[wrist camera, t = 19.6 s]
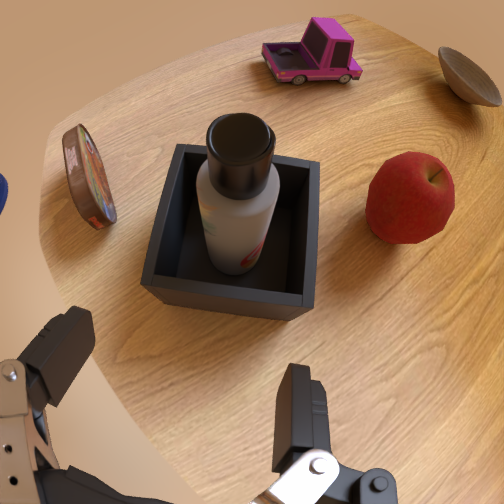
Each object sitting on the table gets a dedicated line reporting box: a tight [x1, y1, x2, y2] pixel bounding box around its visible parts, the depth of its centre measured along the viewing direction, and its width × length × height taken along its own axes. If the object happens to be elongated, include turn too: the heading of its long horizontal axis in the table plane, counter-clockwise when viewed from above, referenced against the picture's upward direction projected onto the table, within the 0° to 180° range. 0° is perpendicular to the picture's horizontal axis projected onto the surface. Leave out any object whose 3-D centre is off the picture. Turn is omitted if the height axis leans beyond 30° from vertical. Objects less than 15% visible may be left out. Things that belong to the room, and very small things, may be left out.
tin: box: [62, 124, 117, 230], centre depth 33 cm, size 15×3×8 cm, turn 26°
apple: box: [365, 151, 455, 244], centre depth 32 cm, size 10×10×14 cm
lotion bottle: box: [196, 113, 280, 275], centre depth 25 cm, size 6×6×20 cm
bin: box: [140, 144, 320, 321], centre depth 31 cm, size 14×14×10 cm
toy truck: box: [262, 17, 363, 85], centre depth 43 cm, size 11×16×10 cm
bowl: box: [438, 47, 502, 107], centre depth 48 cm, size 18×18×8 cm
